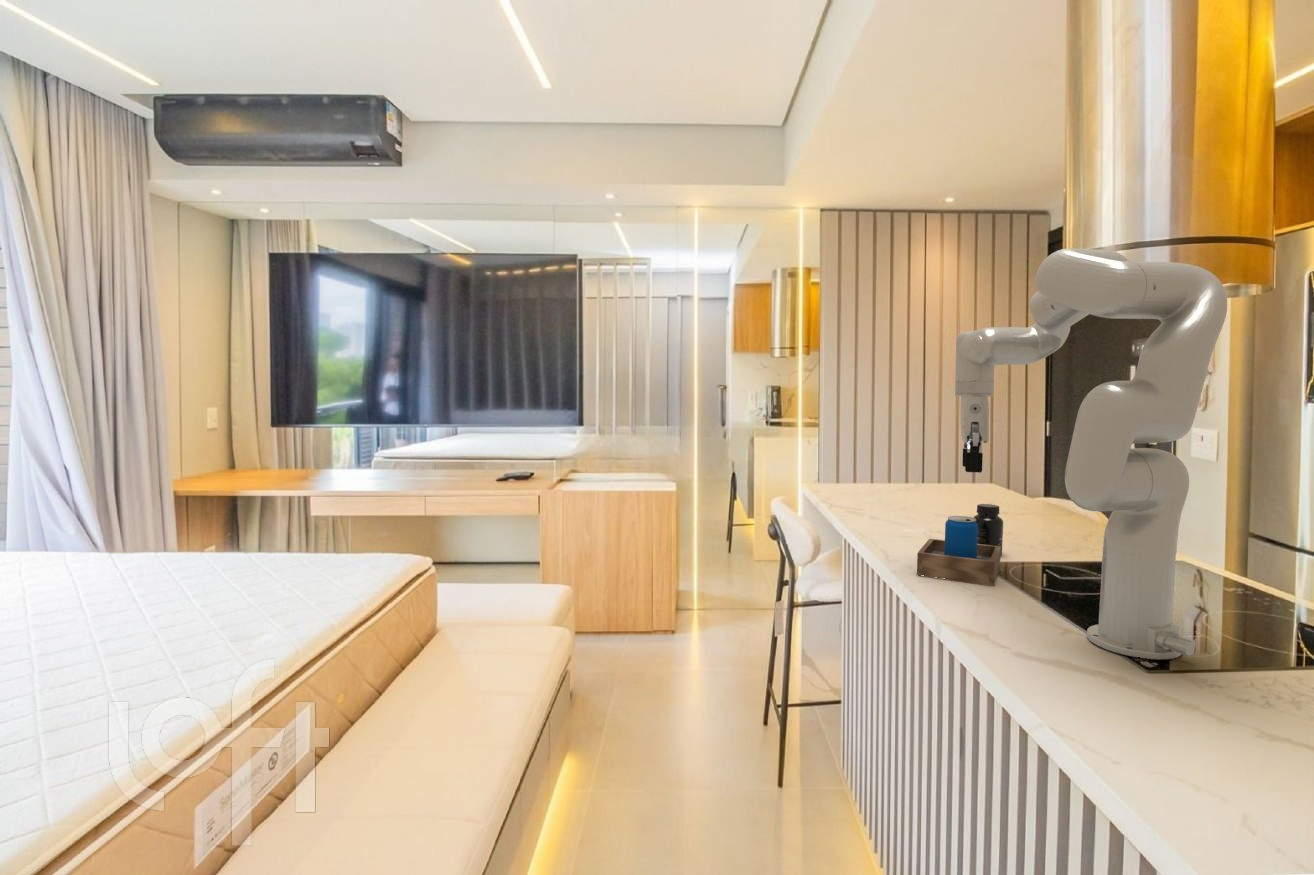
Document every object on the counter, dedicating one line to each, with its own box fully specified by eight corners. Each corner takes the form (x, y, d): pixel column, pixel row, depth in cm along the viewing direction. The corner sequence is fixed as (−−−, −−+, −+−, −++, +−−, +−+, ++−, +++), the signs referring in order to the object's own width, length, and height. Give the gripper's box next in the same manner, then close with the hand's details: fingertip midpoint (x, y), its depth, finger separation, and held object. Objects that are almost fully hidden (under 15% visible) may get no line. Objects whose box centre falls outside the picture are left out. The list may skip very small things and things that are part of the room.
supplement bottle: (1007, 558, 163) (1009, 508, 162) (978, 558, 163) (980, 508, 162) (993, 551, 170) (995, 502, 169) (965, 551, 170) (967, 502, 169)
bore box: (999, 568, 155) (1000, 546, 154) (993, 586, 142) (994, 562, 141) (928, 559, 162) (929, 538, 162) (916, 575, 149) (917, 552, 149)
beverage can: (981, 576, 149) (983, 521, 147) (950, 576, 149) (952, 521, 148) (968, 568, 155) (970, 515, 154) (939, 568, 155) (940, 515, 154)
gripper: (998, 390, 138) (995, 475, 140) (989, 389, 154) (987, 465, 156) (957, 390, 141) (954, 473, 142) (953, 389, 157) (951, 464, 158)
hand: (971, 469), depth 149 cm, fingers open, 9 cm apart
